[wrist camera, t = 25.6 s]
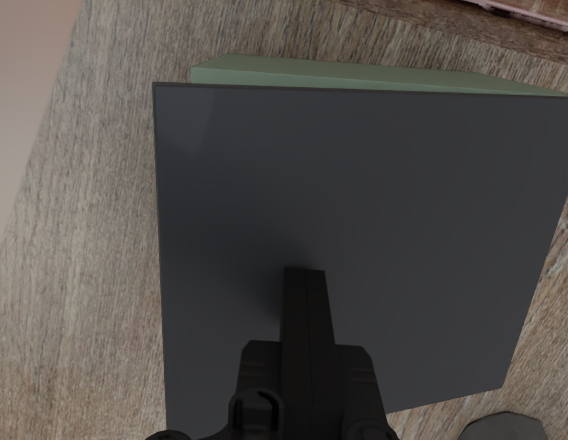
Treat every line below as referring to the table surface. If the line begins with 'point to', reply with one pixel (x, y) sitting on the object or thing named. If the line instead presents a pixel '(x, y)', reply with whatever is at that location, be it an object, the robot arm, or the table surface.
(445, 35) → the table surface
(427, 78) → the green box
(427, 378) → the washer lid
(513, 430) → the coffeepot
